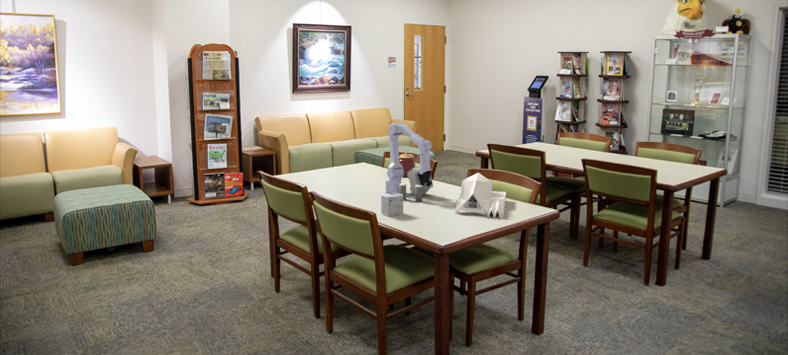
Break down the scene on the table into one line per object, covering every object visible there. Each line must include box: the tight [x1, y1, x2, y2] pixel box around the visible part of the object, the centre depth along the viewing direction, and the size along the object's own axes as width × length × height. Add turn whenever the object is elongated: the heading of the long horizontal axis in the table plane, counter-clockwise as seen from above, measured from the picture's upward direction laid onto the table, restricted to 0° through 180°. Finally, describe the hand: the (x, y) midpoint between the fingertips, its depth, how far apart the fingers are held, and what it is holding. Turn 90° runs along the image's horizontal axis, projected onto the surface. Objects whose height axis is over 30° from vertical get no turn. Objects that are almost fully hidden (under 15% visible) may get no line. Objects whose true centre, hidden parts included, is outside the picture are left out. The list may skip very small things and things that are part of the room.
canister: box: [399, 151, 416, 178], centre depth 409 cm, size 13×13×18 cm
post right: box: [414, 185, 423, 203], centre depth 337 cm, size 4×4×9 cm
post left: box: [399, 182, 407, 201], centre depth 340 cm, size 4×4×9 cm
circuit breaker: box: [407, 167, 434, 196], centre depth 349 cm, size 8×14×15 cm, turn 48°
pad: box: [406, 194, 424, 199], centre depth 347 cm, size 9×5×1 cm, turn 67°
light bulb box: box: [380, 193, 404, 218], centre depth 308 cm, size 11×7×11 cm, turn 128°
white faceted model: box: [454, 172, 507, 219], centre depth 321 cm, size 41×27×17 cm, turn 167°
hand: (424, 183), depth 338 cm, fingers open, 7 cm apart
